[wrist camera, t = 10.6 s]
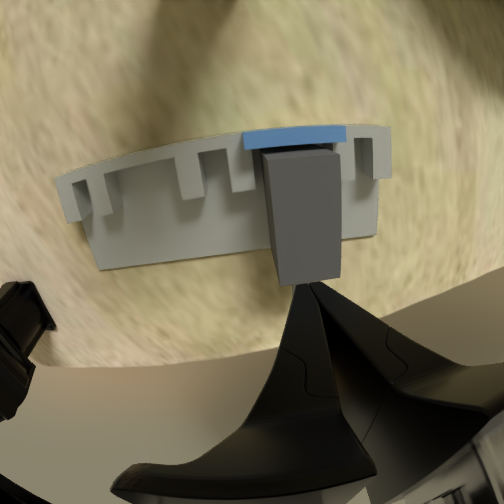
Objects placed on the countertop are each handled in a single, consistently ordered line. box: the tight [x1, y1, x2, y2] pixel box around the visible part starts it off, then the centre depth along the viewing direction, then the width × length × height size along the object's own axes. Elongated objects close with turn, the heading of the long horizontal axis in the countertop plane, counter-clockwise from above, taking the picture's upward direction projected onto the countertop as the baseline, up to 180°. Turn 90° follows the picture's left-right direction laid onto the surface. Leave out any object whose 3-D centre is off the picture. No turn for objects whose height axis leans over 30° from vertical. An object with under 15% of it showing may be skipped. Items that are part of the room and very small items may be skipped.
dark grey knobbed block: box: [260, 144, 342, 295], centre depth 18 cm, size 10×4×6 cm, turn 7°
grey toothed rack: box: [54, 124, 391, 270], centre depth 18 cm, size 9×24×4 cm, turn 97°
